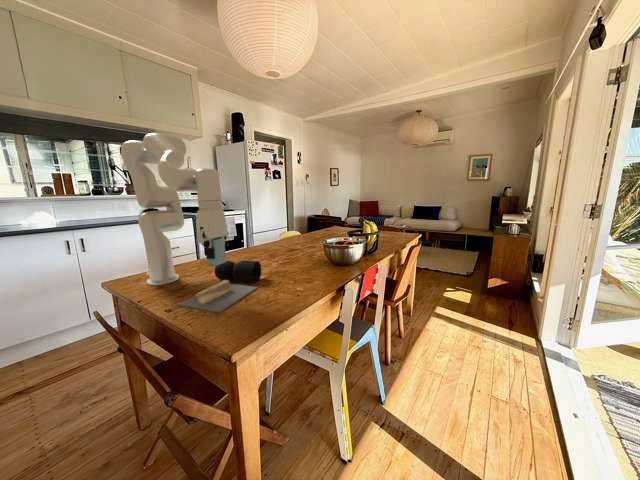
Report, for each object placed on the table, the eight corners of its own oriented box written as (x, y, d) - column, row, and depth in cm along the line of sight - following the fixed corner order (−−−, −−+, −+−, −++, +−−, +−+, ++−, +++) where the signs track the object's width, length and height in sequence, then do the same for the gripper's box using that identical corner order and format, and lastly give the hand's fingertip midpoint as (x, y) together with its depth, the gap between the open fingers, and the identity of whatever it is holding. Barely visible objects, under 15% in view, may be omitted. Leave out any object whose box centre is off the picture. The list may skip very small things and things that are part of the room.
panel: (178, 305, 90) (178, 304, 90) (222, 283, 110) (222, 282, 110) (219, 313, 83) (219, 311, 83) (257, 288, 104) (257, 287, 103)
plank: (197, 304, 89) (196, 293, 88) (225, 289, 102) (224, 280, 101) (203, 305, 88) (201, 294, 87) (230, 290, 101) (229, 280, 100)
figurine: (264, 263, 117) (224, 262, 120) (256, 259, 108) (213, 258, 111) (261, 283, 114) (220, 282, 117) (253, 281, 105) (209, 279, 109)
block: (207, 264, 90) (204, 239, 88) (216, 260, 94) (213, 237, 92) (217, 265, 89) (214, 240, 87) (226, 261, 93) (223, 237, 91)
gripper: (219, 204, 96) (224, 250, 100) (181, 207, 81) (189, 262, 84) (235, 204, 94) (239, 251, 97) (199, 207, 78) (206, 264, 82)
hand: (216, 256), depth 91 cm, fingers closed on block, 4 cm apart
